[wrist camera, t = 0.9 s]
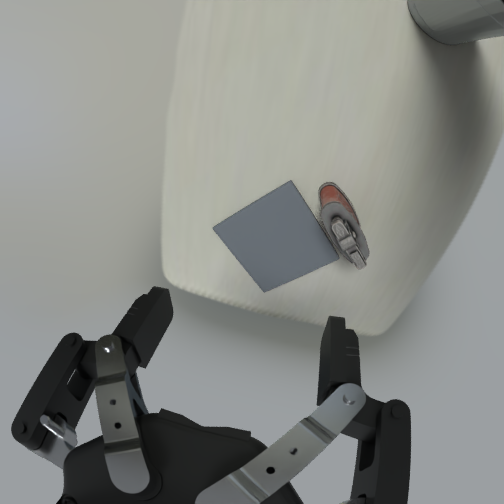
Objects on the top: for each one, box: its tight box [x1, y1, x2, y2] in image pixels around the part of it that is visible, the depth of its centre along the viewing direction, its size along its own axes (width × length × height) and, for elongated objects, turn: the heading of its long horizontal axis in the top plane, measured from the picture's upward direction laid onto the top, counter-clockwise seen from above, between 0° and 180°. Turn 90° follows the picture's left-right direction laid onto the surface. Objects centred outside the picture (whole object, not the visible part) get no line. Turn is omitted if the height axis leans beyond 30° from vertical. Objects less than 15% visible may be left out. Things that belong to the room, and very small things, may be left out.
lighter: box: [319, 182, 369, 269], centre depth 30 cm, size 8×3×10 cm, turn 38°
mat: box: [213, 180, 339, 292], centre depth 39 cm, size 13×13×1 cm
